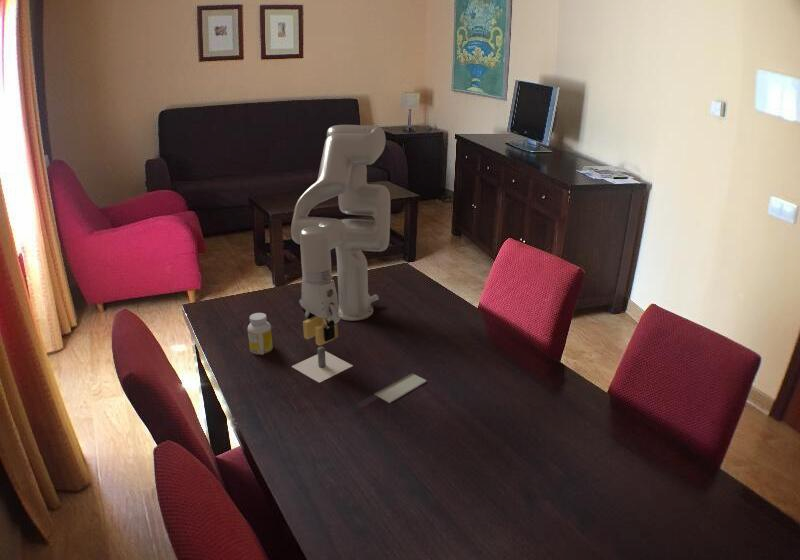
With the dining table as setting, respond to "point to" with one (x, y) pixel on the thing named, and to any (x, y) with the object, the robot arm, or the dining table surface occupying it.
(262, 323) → the pill bottle
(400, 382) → the mat
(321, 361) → the stand
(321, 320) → the c link
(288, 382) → the dining table surface
